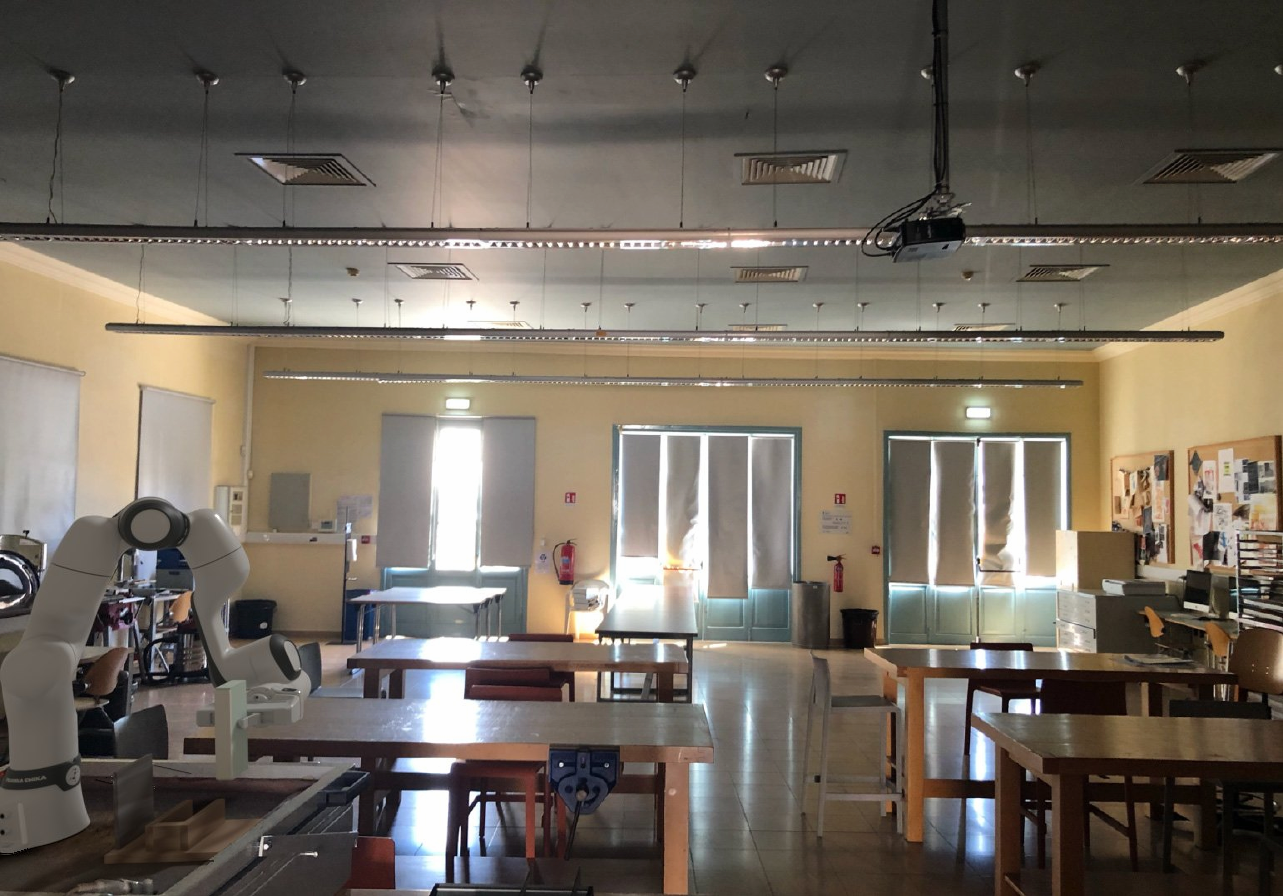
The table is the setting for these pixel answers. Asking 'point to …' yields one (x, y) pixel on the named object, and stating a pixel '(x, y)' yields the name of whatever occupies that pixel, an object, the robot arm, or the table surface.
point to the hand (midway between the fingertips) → (229, 724)
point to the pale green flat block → (230, 730)
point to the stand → (165, 823)
